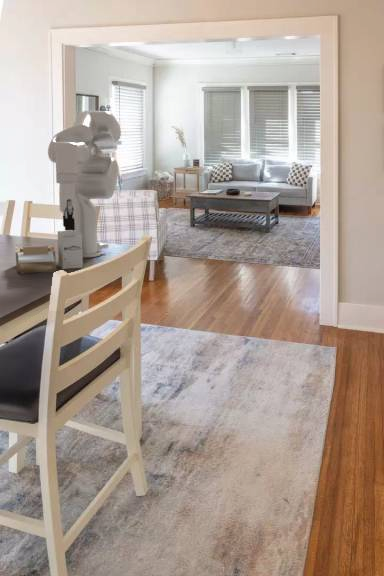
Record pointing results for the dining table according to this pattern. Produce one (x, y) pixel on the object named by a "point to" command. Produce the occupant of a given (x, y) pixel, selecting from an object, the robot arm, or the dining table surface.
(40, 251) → the lid
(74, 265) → the supplement box
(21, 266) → the box
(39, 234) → the dining table surface
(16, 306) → the dining table surface
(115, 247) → the dining table surface
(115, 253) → the dining table surface
